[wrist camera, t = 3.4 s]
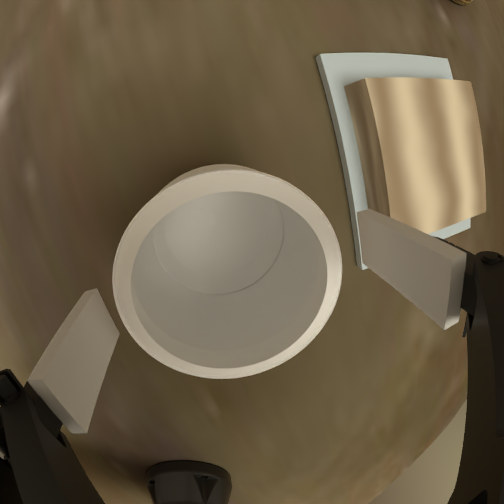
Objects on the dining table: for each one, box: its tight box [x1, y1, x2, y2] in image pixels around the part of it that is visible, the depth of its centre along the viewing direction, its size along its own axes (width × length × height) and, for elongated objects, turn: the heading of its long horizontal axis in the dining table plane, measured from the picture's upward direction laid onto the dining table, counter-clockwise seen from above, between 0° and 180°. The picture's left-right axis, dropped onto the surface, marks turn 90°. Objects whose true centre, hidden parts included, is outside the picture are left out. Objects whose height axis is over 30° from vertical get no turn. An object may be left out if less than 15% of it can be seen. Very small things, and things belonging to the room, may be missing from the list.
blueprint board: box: [315, 53, 470, 270], centre depth 27 cm, size 18×22×1 cm
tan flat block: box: [344, 77, 486, 234], centre depth 25 cm, size 15×15×4 cm
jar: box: [112, 164, 342, 379], centre depth 20 cm, size 11×10×15 cm
